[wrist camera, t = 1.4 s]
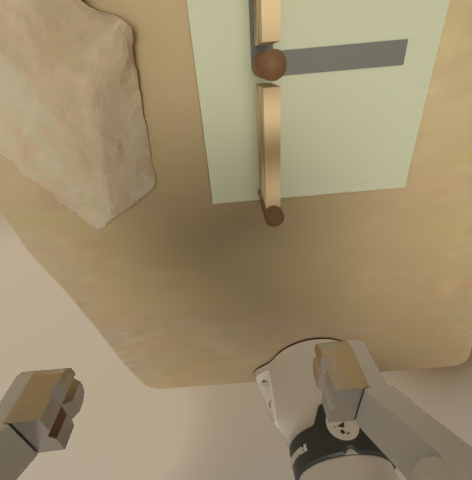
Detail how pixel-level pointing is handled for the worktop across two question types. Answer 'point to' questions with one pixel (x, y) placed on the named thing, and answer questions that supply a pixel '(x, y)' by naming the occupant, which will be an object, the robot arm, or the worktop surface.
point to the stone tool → (73, 106)
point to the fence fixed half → (268, 40)
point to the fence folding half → (269, 151)
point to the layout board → (317, 92)
